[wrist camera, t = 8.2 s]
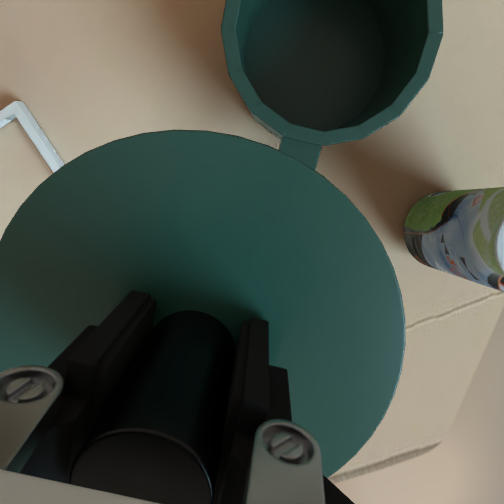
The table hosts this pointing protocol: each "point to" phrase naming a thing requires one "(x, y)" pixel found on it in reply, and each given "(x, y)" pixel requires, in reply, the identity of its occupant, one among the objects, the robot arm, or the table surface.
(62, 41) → the table surface
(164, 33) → the table surface
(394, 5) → the pot
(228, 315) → the lid
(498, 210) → the beverage can
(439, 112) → the table surface
